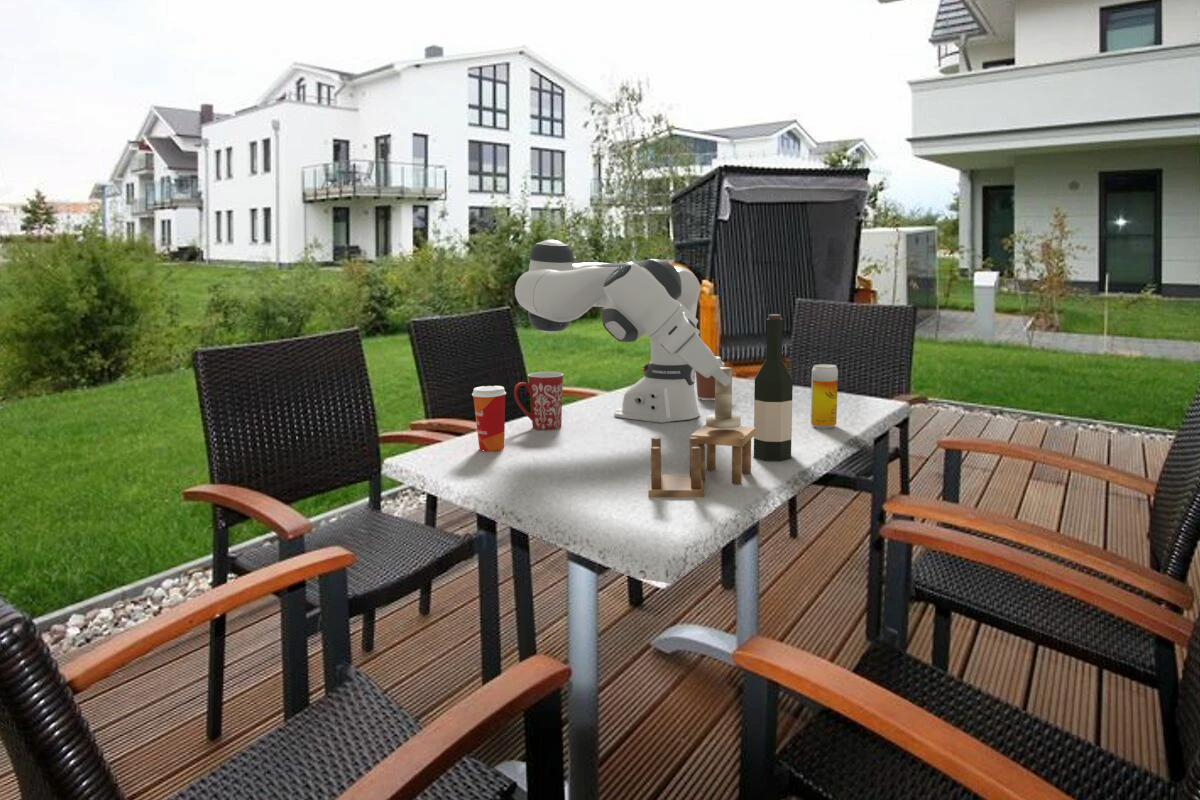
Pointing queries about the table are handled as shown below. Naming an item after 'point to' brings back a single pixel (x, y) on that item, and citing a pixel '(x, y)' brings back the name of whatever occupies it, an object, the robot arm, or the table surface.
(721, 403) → the ring stacker tower
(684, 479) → the upturned stool
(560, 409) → the mug
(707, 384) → the coffee cup
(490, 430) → the paper cup
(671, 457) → the table surface
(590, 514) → the table surface
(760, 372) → the wine bottle
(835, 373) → the beer can
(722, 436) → the stool
